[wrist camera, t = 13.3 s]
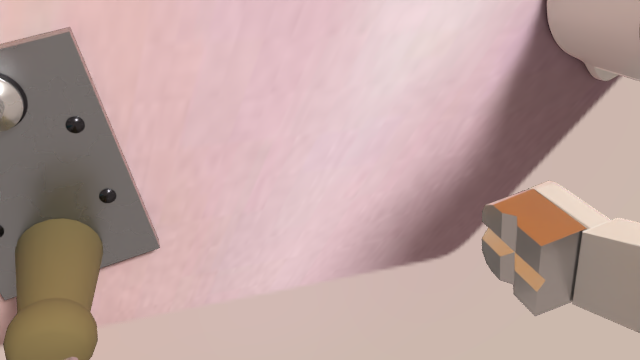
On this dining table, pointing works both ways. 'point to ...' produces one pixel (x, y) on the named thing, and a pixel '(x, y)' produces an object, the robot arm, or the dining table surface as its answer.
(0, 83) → the steel pin
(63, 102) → the flange plate
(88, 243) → the cork
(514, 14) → the dining table surface
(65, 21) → the dining table surface
